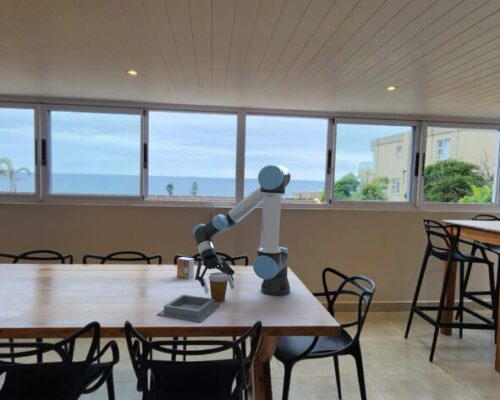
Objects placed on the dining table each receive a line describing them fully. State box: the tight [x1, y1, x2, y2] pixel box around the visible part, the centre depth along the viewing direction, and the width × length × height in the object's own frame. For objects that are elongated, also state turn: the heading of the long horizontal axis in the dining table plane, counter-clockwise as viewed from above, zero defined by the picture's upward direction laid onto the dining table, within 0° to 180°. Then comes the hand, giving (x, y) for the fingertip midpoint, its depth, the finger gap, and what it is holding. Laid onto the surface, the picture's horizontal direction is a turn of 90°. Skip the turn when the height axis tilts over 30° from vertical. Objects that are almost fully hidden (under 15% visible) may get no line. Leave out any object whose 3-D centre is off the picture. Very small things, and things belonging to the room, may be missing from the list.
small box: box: [176, 256, 195, 279], centre depth 207 cm, size 8×6×10 cm
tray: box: [156, 294, 221, 323], centre depth 155 cm, size 20×20×4 cm
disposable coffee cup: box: [208, 271, 229, 303], centre depth 169 cm, size 10×10×12 cm
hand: (220, 290), depth 167 cm, fingers open, 13 cm apart
